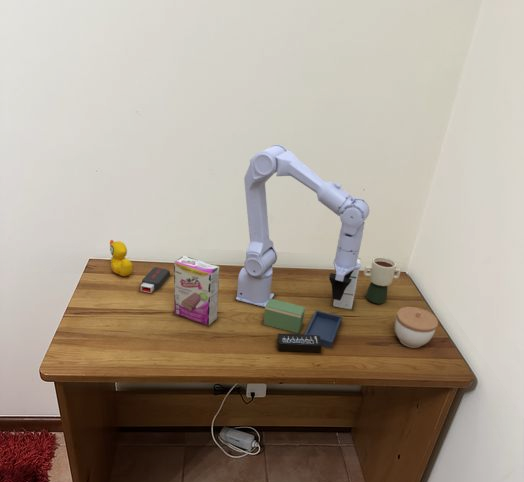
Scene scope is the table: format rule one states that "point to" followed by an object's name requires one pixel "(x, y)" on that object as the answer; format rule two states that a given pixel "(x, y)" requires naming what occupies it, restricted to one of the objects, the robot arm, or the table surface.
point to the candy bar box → (196, 290)
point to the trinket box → (415, 326)
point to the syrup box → (348, 291)
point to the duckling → (120, 259)
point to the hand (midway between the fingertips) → (339, 292)
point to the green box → (284, 315)
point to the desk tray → (324, 327)
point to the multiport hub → (299, 342)
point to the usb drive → (154, 279)
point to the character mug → (380, 278)
